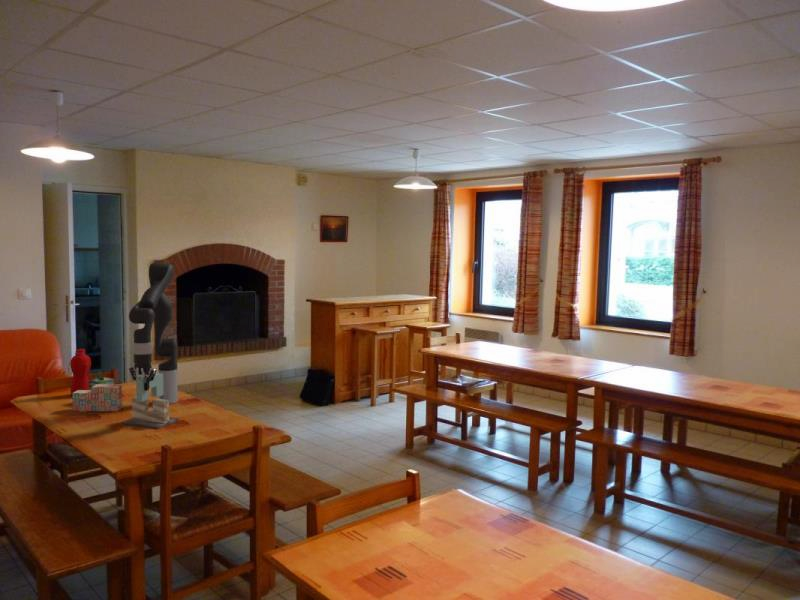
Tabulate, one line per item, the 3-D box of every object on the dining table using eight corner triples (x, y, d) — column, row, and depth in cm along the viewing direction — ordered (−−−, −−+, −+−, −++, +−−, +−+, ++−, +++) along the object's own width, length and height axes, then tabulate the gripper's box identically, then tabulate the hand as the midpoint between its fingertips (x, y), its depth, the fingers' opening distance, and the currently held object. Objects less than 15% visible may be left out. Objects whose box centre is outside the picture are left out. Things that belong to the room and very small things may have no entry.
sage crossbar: (158, 394, 291) (157, 373, 290) (163, 394, 290) (163, 373, 289) (136, 401, 278) (136, 379, 277) (142, 401, 277) (141, 379, 276)
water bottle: (72, 393, 336) (71, 347, 334) (93, 393, 337) (92, 347, 335) (65, 397, 327) (64, 350, 324) (87, 397, 328) (86, 350, 326)
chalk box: (115, 400, 322) (114, 372, 321) (98, 404, 314) (98, 375, 313) (105, 398, 327) (104, 370, 326) (88, 401, 319) (87, 373, 318)
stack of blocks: (72, 411, 300) (71, 386, 299) (78, 408, 307) (77, 384, 306) (117, 411, 302) (117, 387, 301) (122, 408, 308) (121, 384, 307)
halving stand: (144, 416, 295) (143, 393, 294) (178, 420, 288) (178, 397, 287) (122, 423, 282) (121, 400, 281) (158, 428, 275) (157, 404, 274)
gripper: (123, 352, 277) (124, 390, 278) (149, 354, 272) (150, 393, 274) (136, 349, 284) (136, 387, 285) (161, 352, 279) (161, 389, 281)
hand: (143, 389), depth 279 cm, fingers closed on sage crossbar, 3 cm apart
